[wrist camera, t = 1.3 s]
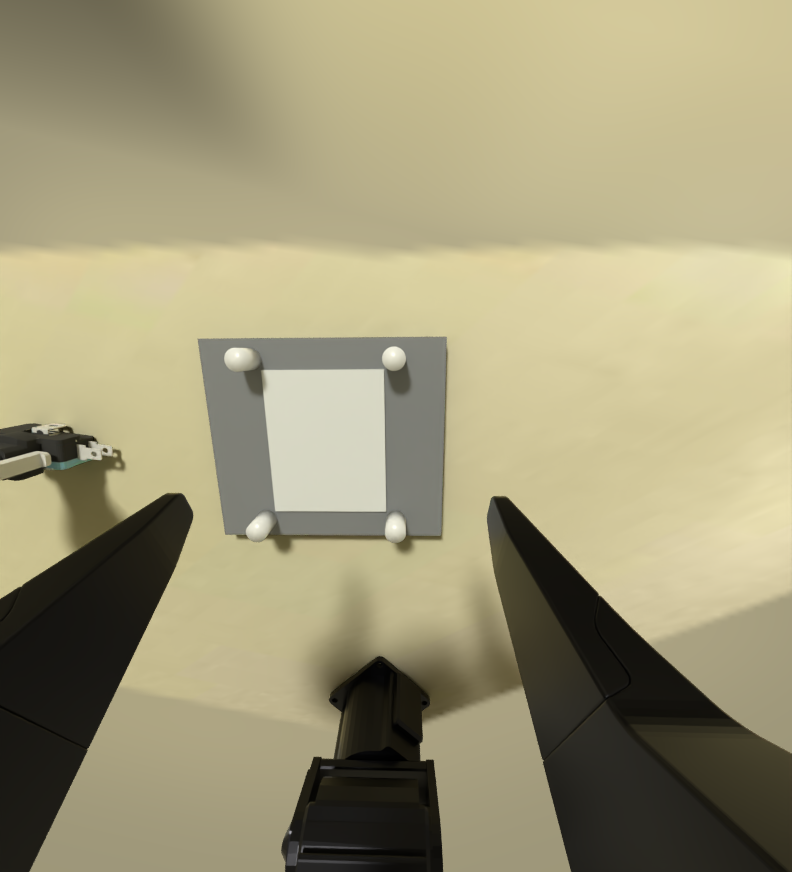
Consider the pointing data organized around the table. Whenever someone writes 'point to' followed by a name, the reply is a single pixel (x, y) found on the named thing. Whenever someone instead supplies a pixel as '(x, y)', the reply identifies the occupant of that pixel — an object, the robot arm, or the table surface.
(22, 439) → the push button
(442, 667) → the table surface
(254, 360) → the mounting base
